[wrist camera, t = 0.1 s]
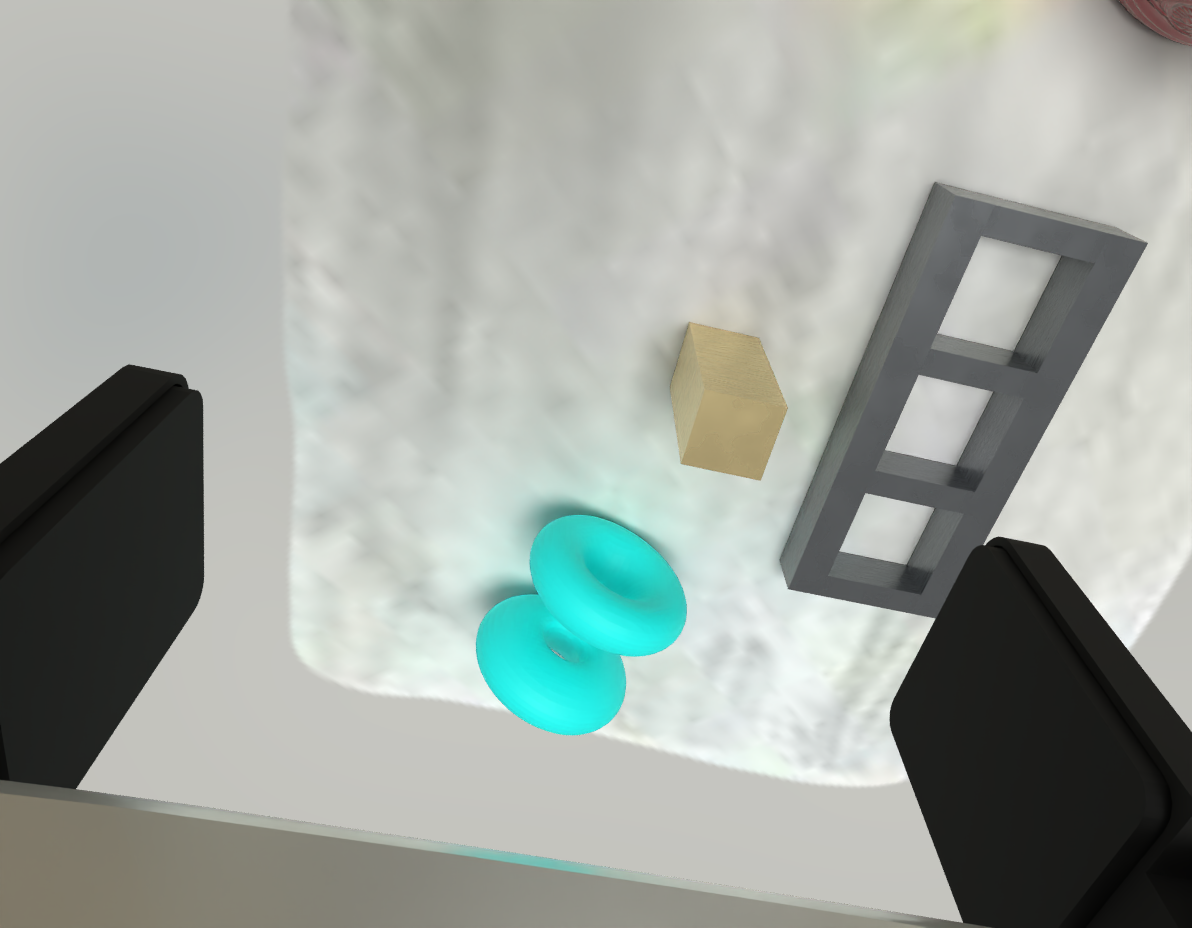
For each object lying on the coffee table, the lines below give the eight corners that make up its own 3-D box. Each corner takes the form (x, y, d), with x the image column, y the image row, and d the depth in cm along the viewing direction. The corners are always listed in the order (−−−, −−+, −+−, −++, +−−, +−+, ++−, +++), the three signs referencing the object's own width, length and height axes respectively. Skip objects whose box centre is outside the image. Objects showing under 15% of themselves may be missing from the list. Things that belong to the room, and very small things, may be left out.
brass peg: (689, 322, 47) (704, 389, 40) (758, 337, 48) (787, 408, 40) (669, 387, 49) (680, 464, 42) (736, 401, 50) (760, 480, 42)
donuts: (689, 549, 55) (704, 657, 46) (610, 653, 59) (610, 769, 51) (551, 482, 53) (538, 581, 44) (479, 595, 57) (455, 706, 48)
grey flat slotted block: (935, 182, 44) (955, 195, 41) (1116, 227, 45) (1148, 243, 42) (779, 560, 55) (788, 589, 52) (926, 589, 56) (941, 619, 53)
